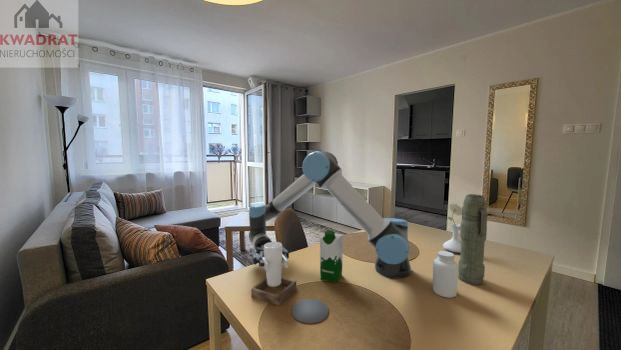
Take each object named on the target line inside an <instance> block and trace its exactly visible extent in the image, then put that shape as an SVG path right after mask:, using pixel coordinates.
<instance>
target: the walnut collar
mask: <svg viewBox="0 0 621 350" xmlns="http://www.w3.org/2000/svg"><path fill="white" fill-rule="evenodd" d="M279 286H280V287H283V288H284V289H283V290H282V291H281V292H279V293H278V294H276V293H272V292H269V291H266V290H265V289H266V288H268V287H269V286H268V285H267V277H265V278H264V279H262V280H261V281H260V282H258V283H257V284H256V285H254V286H253V287H252V288H250V293H251V295H250V296H251V298H254V299H257V300H260V301H263V302H266V303H269V304H273V305H275V306H278V307H279V306H280V305H281V304H283V302H284V301H285V300H286V299H288V297H290V296H291V295H292V293H294V292H295V291H296V289H297V280H295V279H290V278H285V277H282V276H281V284H280V285H279Z"/></svg>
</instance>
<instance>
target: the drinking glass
mask: <svg viewBox="0 0 621 350" xmlns="http://www.w3.org/2000/svg"><path fill="white" fill-rule="evenodd" d="M282 246H283V244H282V243H281V242H280V241H279V242H278V241H272V242H269V243H266V244H265V245H264V259H265V260H266V261H267V263H268V265H269V272H266V271H265V275H266V278H267V285H268V286H267V287H270V288H275V287H278V286H280V284H281V277H282V270H283V268H282V267H283V263H282Z"/></svg>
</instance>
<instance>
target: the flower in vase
mask: <svg viewBox="0 0 621 350" xmlns="http://www.w3.org/2000/svg"><path fill="white" fill-rule="evenodd" d="M448 208H449V210H450V212H451V213H452V215H451V216H448V217H447V218H446V219H447V220H449V221H451V222H452V221H453V223H450V226H451V227H452V237H451V239H449V240H446V241H445V242H444V243H443V244H442V247H443V249H444V250H447V251H448V252H451V253H458V254H459V253H460V254H461V241H460V239H459V232H460V227H461V224H459V223H458V222H460V221H461V219H458V220H456V221H454V215H456V216H462V207H461V206H460V205H458V203H455V202H452V203H449V204H448Z"/></svg>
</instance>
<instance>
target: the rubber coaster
mask: <svg viewBox="0 0 621 350" xmlns="http://www.w3.org/2000/svg"><path fill="white" fill-rule="evenodd" d="M328 307H329V306H328V305H327V304H326V303H324V302H323V301H321V300H319V299H311V298H309V299H308V298H306V299H302V300H300V301H298V302H296V303H295V304H294V305H293V306H292V308H291V313H292V314H291V315H292V317H293V318H294V319H295V321H297V322H299V323H302V324H306V325H307V324H308V325H311V324H319V323H320V322H322V321H325V320H326V318H327V317H328V315H329V308H328Z"/></svg>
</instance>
